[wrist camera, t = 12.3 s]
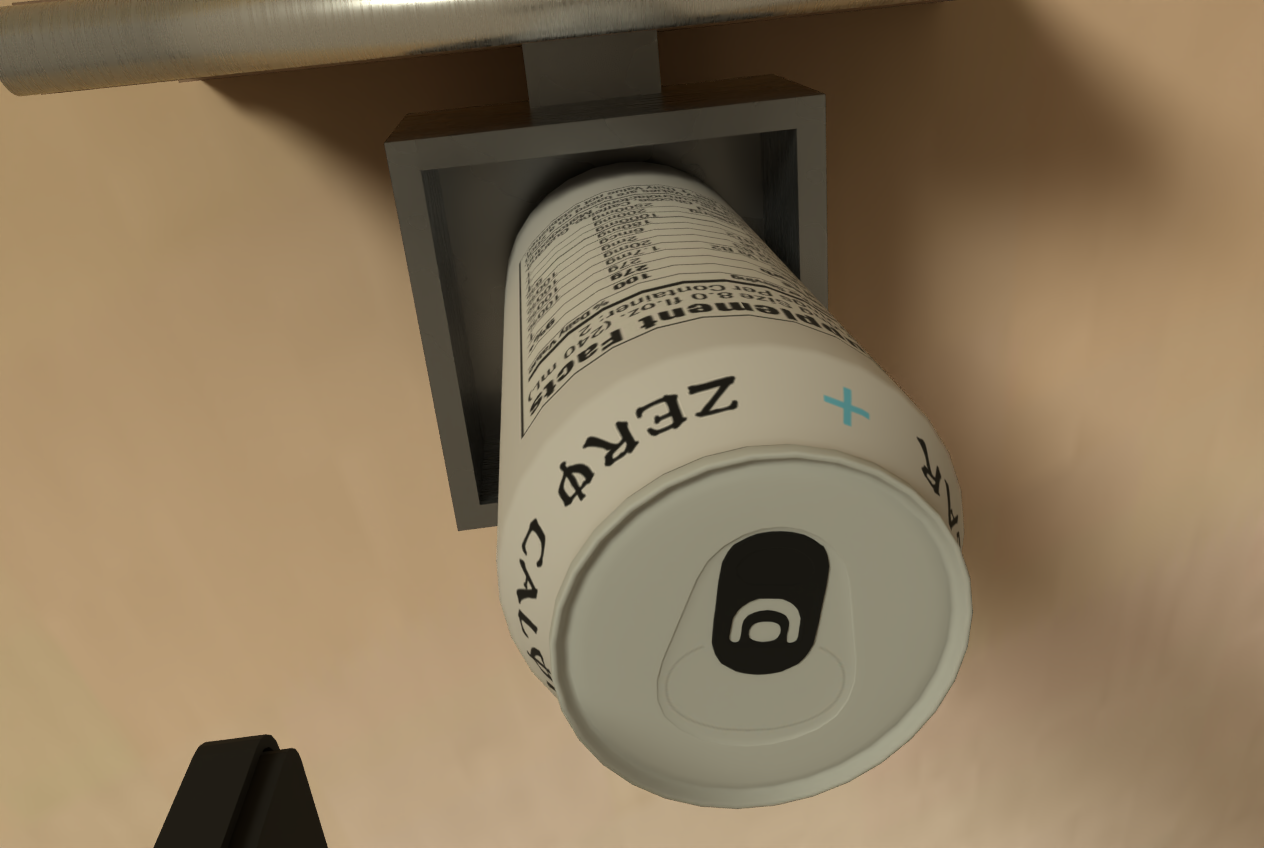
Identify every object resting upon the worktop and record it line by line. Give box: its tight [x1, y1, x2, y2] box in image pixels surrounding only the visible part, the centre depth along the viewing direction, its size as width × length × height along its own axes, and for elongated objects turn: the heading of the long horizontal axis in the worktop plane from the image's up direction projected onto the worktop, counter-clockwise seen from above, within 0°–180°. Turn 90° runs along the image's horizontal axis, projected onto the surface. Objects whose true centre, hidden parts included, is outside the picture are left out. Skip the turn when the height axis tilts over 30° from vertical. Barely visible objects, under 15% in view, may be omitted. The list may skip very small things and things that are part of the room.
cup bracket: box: [0, 0, 952, 531], centre depth 23 cm, size 14×20×10 cm
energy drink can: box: [496, 162, 973, 809], centre depth 18 cm, size 6×6×15 cm
